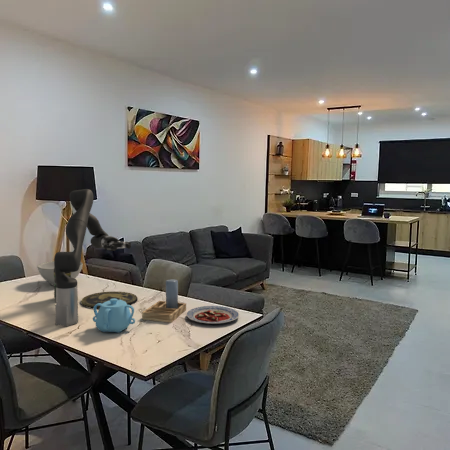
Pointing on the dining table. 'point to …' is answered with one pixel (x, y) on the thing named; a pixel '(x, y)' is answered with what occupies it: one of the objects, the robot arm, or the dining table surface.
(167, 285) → the pale blue cylinder
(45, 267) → the decorative bowl
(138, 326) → the dining table surface
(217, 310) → the ceramic plate
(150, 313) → the wooden compartment tray
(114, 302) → the decorative pot
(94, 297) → the decorative plate
